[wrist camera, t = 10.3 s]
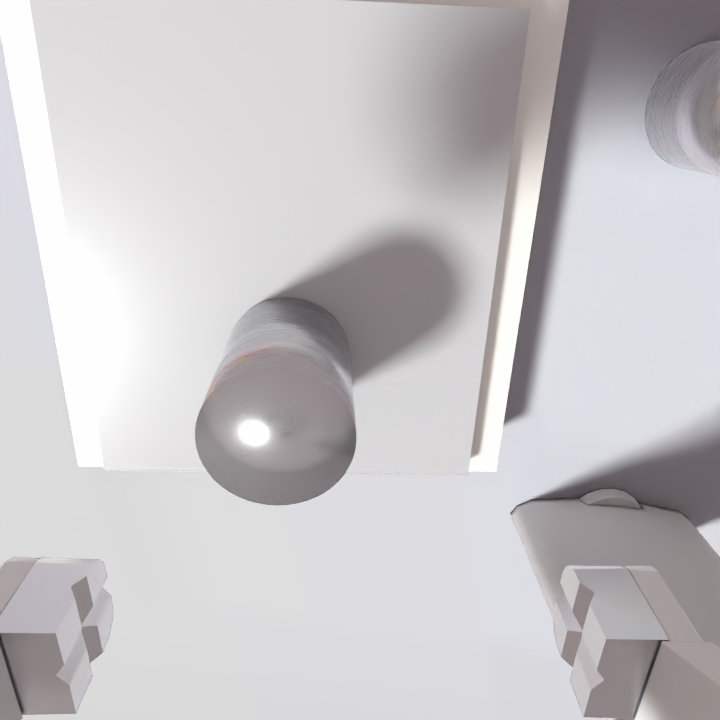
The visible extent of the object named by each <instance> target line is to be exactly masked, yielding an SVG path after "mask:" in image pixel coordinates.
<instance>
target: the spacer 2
mask: <svg viewBox="0 0 720 720" xmlns="http://www.w3.org/2000/svg"><path fill="white" fill-rule="evenodd" d="M645 126H646V132H647V136H648V139H649V142H650V144H651V146H652V148H653V149H654V151H655V152H656V153H657V154H658V156H660V157H661V158H662V159H663V160H664V161H666V162H667V163H669V164H671V165H674V166H676V167H680V168H684V169H689V170H694V171H699V172H703V173H708V174H713V175H718V176H720V40H717V41H710V42H705V43H702V44H698V45H696V46H694V47H691V48H689V49H687V50H686V51H684V52H683V53H681V54H680V55H678V56H677V57H676V58H675V59H673V60H672V61H671V62H670V63H669V64H668V65H667V67H666V68H665V69H664V70H663V71H662V73H661V74H660V76H659V77H658V79H657V80H656V82H655V84H654V86H653V88H652V90H651V93H650V95H649V98H648V102H647V106H646V113H645Z"/></svg>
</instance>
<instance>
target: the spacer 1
mask: <svg viewBox="0 0 720 720" xmlns="http://www.w3.org/2000/svg"><path fill="white" fill-rule="evenodd" d="M195 443H196V448H197V452H198V455H199V458H200V460H201V462H202V464H203V466H204V467H205V469H206V470H207V472H208V473H209V474H210V475H211V477H212V478H213V479H214V480H215V481H216V482H217V483H218V484H220V485H221V486H222V487H223V488H225V489H226V490H228V491H229V492H231V493H233V494H234V495H236V496H238V497H241V498H243V499H246V500H248V501H252V502H255V503H260V504H266V505H289V504H296V503H300V502H304V501H307V500H310V499H312V498H315V497H317V496H319V495H321V494H323V493H324V492H326V491H327V490H329V489H330V488H331V487H333V486H334V485H335V484H336V483H337V482H338V481H339V480H340V479H341V478H342V477H343V475H344V474H345V473H346V471H347V470H348V468H349V466H350V464H351V462H352V460H353V456H354V453H355V449H356V423H355V411H354V398H353V385H352V373H351V360H350V349H349V343H348V339H347V336H346V334H345V332H344V330H343V328H342V326H341V325H340V323H339V322H338V321H337V320H336V318H335V317H334V316H333V315H332V314H330V313H329V312H328V311H327V310H325V309H324V308H323V307H321V306H319V305H317V304H315V303H313V302H310V301H307V300H304V299H299V298H292V297H281V298H274V299H270V300H267V301H264V302H262V303H259V304H257V305H255V306H254V307H252V308H250V309H249V310H248V311H247V312H245V313H244V314H243V315H242V316H241V317H240V319H239V320H238V321H237V323H236V324H235V326H234V328H233V330H232V332H231V334H230V337H229V339H228V342H227V344H226V347H225V349H224V352H223V354H222V357H221V359H220V362H219V364H218V366H217V369H216V371H215V374H214V376H213V379H212V381H211V384H210V386H209V389H208V391H207V394H206V396H205V399H204V401H203V404H202V406H201V409H200V411H199V414H198V417H197V420H196V426H195Z"/></svg>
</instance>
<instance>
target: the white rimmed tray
mask: <svg viewBox="0 0 720 720" xmlns="http://www.w3.org/2000/svg"><path fill="white" fill-rule="evenodd" d="M568 7H569V0H0V33H1V39H2V44H3V50H4V55H5V61H6V67H7V72H8V78H9V83H10V89H11V94H12V100H13V105H14V111H15V117H16V122H17V128H18V133H19V139H20V144H21V150H22V155H23V161H24V167H25V172H26V178H27V183H28V189H29V194H30V200H31V206H32V211H33V217H34V222H35V228H36V233H37V239H38V244H39V250H40V256H41V261H42V267H43V272H44V278H45V283H46V289H47V294H48V300H49V306H50V311H51V317H52V322H53V328H54V333H55V339H56V344H57V350H58V356H59V361H60V367H61V372H62V378H63V383H64V389H65V394H66V400H67V406H68V411H69V417H70V422H71V428H72V433H73V439H74V444H75V450H76V456H77V461H78V466H85V467H104V470H105V471H186V472H207V470H206V469H205V467H204V466H203V464H202V462H201V460H200V458H199V455H198V452H197V448H196V443H195V426H196V420H197V417H198V414H199V411H200V409H201V406H202V404H203V401H204V399H205V396H206V394H207V391H208V389H209V386H210V384H211V381H212V379H213V376H214V374H215V371H216V369H217V366H218V364H219V362H220V359H221V357H222V354H223V352H224V349H225V347H226V344H227V342H228V339H229V337H230V334H231V332H232V330H233V328H234V326H235V324H236V323H237V321H238V320H239V319H240V317H241V316H242V315H243V314H244V313H245V312H247V311H248V310H249V309H250V308H252V307H254V306H255V305H257V304H259V303H262V302H264V301H267V300H270V299H274V298H281V297H292V298H299V299H304V300H307V301H310V302H313V303H315V304H317V305H319V306H321V307H323V308H324V309H325V310H327V311H328V312H329V313H330V314H332V315H333V316H334V317H335V318H336V320H337V321H338V322H339V323H340V325H341V326H342V328H343V330H344V332H345V334H346V336H347V339H348V343H349V349H350V360H351V373H352V385H353V398H354V411H355V423H356V449H355V453H354V456H353V460H352V462H351V464H350V466H349V468H348V470H347V471H346V473H349V474H430V475H468V472H469V471H481V472H496V468H497V462H498V455H499V449H500V443H501V436H502V430H503V423H504V417H505V411H506V404H507V398H508V391H509V385H510V379H511V372H512V366H513V359H514V353H515V346H516V340H517V334H518V327H519V321H520V314H521V308H522V302H523V295H524V289H525V282H526V276H527V270H528V263H529V257H530V250H531V244H532V238H533V231H534V225H535V218H536V212H537V205H538V199H539V193H540V186H541V180H542V173H543V167H544V161H545V154H546V148H547V141H548V135H549V129H550V122H551V116H552V109H553V103H554V96H555V90H556V84H557V77H558V71H559V64H560V58H561V52H562V45H563V39H564V32H565V26H566V20H567V13H568Z"/></svg>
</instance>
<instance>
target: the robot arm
mask: <svg viewBox="0 0 720 720" xmlns="http://www.w3.org/2000/svg"><path fill="white" fill-rule="evenodd" d="M106 578H107V572H106V568H105V564H104V562H103V561H101V560H99V559H73V558H47V557H42V558H30V557H12V558H11V559H9V560H8V561H6V562H5V563H4V564H3V565H2V567H1V568H0V720H21V719H22V715H34V714H76V713H77V711H78V708H79V706H80V704H81V702H82V699H83V697H84V695H85V692H86V690H87V688H88V686H89V683H90V681H91V679H92V671H91V666H90V662H92V661H93V660H94V659H95V658H97V657H98V656H99V655H100V654H102V653H103V651H104V649H105V646H106V644H107V641H108V639H109V635H110V631H111V626H112V621H113V603H112V598H111V595H110V594H109V593H108V592H107V591H106V590H105V589H104V588H102V587H103V584H104V582H105V580H106ZM560 583H561V585H562V588H563V590H564V594H563V595H562V596H561V597H560V598H559V599H557V600H556V603H555V608H554V613H553V625H554V635H555V639H556V644H557V647H558V650H559V652H560V655H561V657H562V658H563V659H564V660H565V661H566V662H567V663H569V664H570V665H571V666H572V667H573V669H572V673H571V677H570V683H571V685H572V688H573V691H574V693H575V696H576V698H577V701H578V704H579V706H580V709H581V712H582V714H583V717H598V718H625V719H635V720H720V647H718V646H717V645H715V644H714V643H712V642H703V641H702V639H701V638H700V636H699V635H698V633H697V632H696V630H695V629H694V627H693V625H692V624H691V622H690V621H689V619H688V618H687V616H686V614H685V613H684V611H683V610H682V608H681V607H680V605H679V604H678V602H677V600H676V599H675V597H674V596H673V594H672V593H671V591H670V590H669V588H668V586H667V585H666V583H665V582H664V580H663V579H662V577H661V576H660V574H659V572H658V571H657V570H656V569H655V568H653V567H652V566H622V567H621V566H566V568H565V569H564V571H563V573H562V577H561V581H560Z"/></svg>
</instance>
